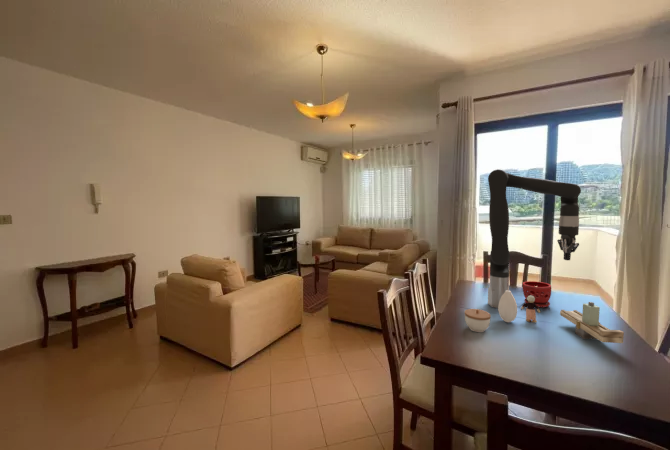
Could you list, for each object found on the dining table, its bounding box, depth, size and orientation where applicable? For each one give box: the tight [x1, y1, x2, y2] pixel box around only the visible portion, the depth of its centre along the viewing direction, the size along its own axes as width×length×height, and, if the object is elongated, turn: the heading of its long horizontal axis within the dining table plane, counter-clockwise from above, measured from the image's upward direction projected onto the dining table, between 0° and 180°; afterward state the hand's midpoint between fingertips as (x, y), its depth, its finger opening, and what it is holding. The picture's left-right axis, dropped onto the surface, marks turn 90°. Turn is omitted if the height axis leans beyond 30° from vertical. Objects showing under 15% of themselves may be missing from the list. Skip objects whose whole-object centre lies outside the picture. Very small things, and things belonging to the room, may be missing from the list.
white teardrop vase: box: [497, 285, 518, 323], centre depth 136 cm, size 8×8×18 cm
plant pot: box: [522, 280, 552, 308], centre depth 157 cm, size 13×13×12 cm
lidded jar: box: [464, 308, 492, 333], centre depth 130 cm, size 11×11×9 cm
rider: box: [582, 301, 601, 326], centre depth 119 cm, size 4×4×9 cm
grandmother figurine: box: [520, 296, 541, 323], centre depth 137 cm, size 8×4×13 cm, turn 65°
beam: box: [559, 309, 625, 344], centre depth 121 cm, size 8×26×8 cm, turn 171°
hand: (566, 259), depth 139 cm, fingers closed
